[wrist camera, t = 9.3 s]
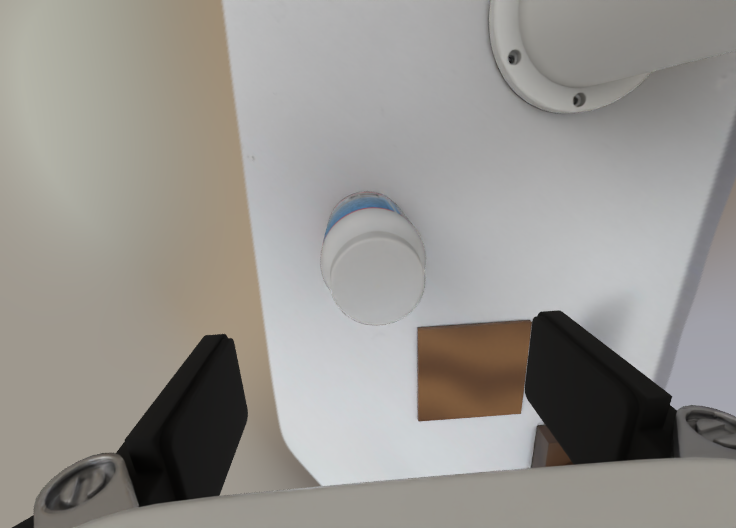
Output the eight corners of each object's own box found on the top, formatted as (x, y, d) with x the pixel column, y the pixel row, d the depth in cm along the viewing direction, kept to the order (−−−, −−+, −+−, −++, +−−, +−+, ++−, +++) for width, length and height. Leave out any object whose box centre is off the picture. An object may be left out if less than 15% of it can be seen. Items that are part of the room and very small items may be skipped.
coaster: (417, 327, 30) (418, 329, 30) (529, 319, 30) (532, 322, 30) (417, 418, 33) (418, 421, 33) (519, 411, 34) (521, 414, 33)
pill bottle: (317, 251, 27) (296, 317, 17) (344, 178, 26) (340, 201, 15) (386, 276, 28) (408, 354, 18) (417, 208, 27) (462, 249, 16)
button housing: (537, 425, 34) (559, 460, 31) (624, 418, 35) (658, 452, 31) (526, 497, 38) (546, 536, 34) (607, 491, 38) (635, 529, 34)
